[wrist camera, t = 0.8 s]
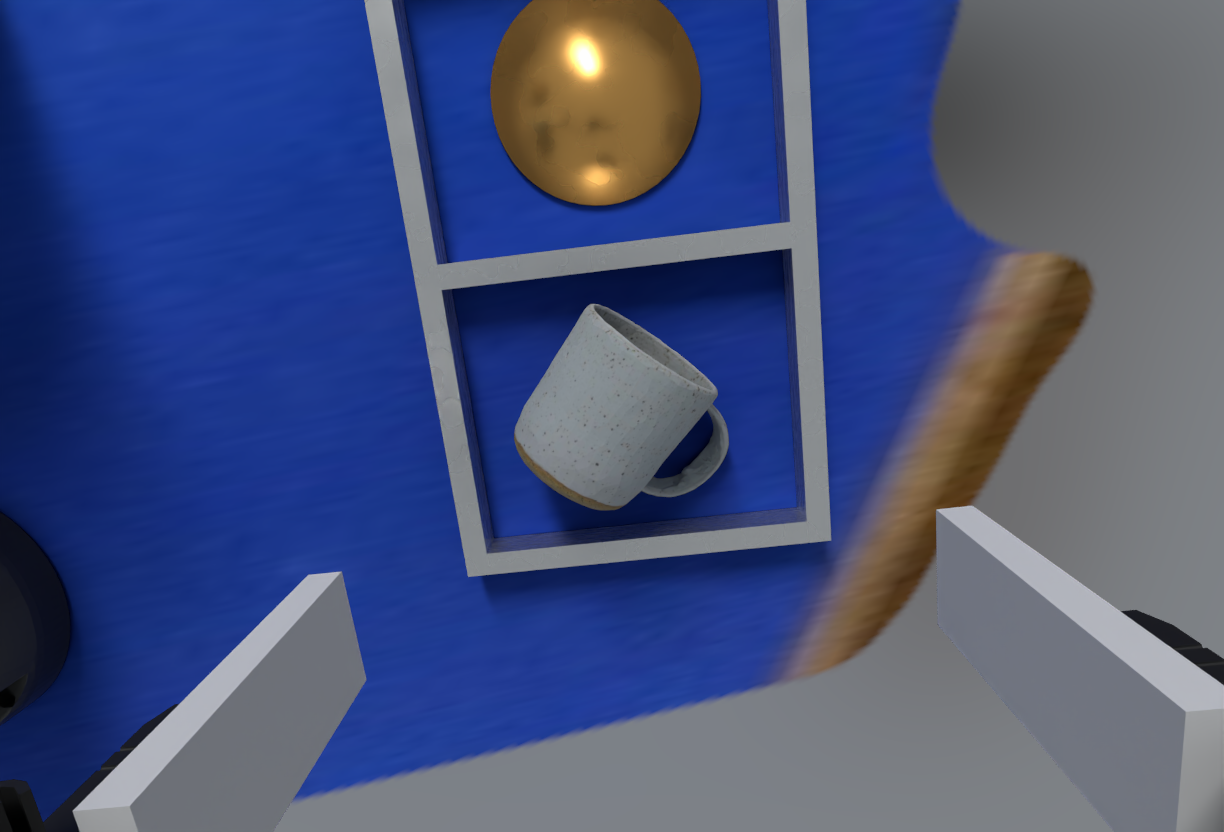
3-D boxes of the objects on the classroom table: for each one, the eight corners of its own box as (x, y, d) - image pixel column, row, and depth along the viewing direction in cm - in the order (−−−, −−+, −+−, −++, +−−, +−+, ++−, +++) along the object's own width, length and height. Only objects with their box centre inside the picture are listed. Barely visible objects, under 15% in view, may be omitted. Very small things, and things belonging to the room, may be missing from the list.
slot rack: (476, 560, 38) (468, 576, 36) (366, -66, 31) (348, -88, 29) (820, 525, 37) (831, 540, 35) (787, -127, 30) (798, -154, 28)
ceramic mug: (514, 420, 36) (489, 463, 29) (593, 295, 34) (587, 307, 27) (672, 517, 37) (686, 581, 30) (755, 400, 36) (791, 438, 29)
